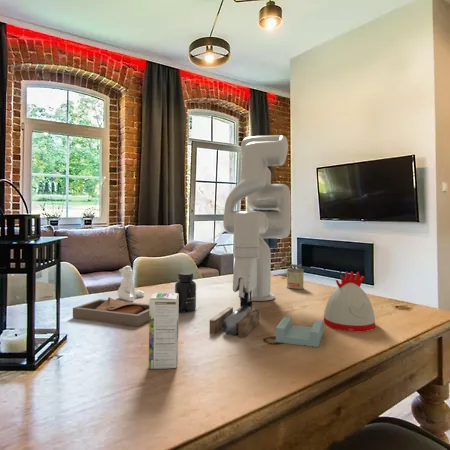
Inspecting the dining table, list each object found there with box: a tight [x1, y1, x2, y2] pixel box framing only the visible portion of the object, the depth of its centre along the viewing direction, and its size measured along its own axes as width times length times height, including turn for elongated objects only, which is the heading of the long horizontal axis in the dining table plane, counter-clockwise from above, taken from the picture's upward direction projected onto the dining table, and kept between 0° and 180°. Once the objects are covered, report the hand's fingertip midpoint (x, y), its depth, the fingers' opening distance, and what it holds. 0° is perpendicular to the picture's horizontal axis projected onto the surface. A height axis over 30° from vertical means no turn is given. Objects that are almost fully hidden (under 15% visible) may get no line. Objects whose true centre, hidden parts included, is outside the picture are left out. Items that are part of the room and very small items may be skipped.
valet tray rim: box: [72, 298, 149, 328], centre depth 112 cm, size 12×23×3 cm, turn 69°
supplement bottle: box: [174, 271, 197, 313], centre depth 119 cm, size 7×7×12 cm
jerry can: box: [286, 263, 305, 290], centre depth 153 cm, size 7×4×10 cm, turn 60°
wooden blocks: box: [209, 306, 260, 338], centre depth 101 cm, size 14×10×4 cm
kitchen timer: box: [323, 271, 376, 332], centre depth 105 cm, size 14×14×15 cm
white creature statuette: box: [117, 265, 145, 303], centre depth 135 cm, size 10×9×12 cm
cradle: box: [275, 316, 324, 348], centre depth 93 cm, size 10×10×4 cm
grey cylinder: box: [222, 305, 254, 336], centre depth 102 cm, size 13×5×5 cm, turn 159°
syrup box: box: [148, 291, 180, 370], centre depth 77 cm, size 6×6×14 cm
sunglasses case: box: [96, 297, 146, 323], centre depth 112 cm, size 18×7×7 cm, turn 54°
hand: (246, 313), depth 110 cm, fingers closed
